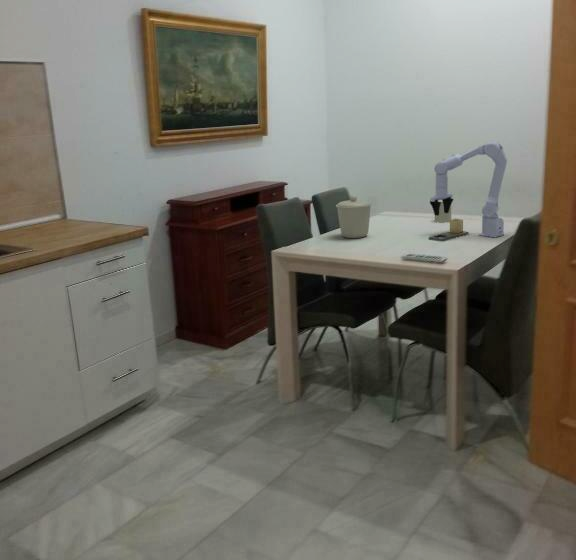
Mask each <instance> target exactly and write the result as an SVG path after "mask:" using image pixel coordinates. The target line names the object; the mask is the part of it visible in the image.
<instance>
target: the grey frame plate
mask: <svg viewBox="0 0 576 560" xmlns="http://www.w3.org/2000/svg"><path fill="white" fill-rule="evenodd" d="M467 234H468V235H469V231H465V230H463V233H459V234H453V233H450V230H449V231H446V232H442V233H439V234H438V233H437V234H436V235H431V236H428V240H430V241H437V242H447V241H448V240H454V239H456V237H457V238H460V236H461V237H464V236H468V235H467ZM463 235H464V236H463Z"/></svg>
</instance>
